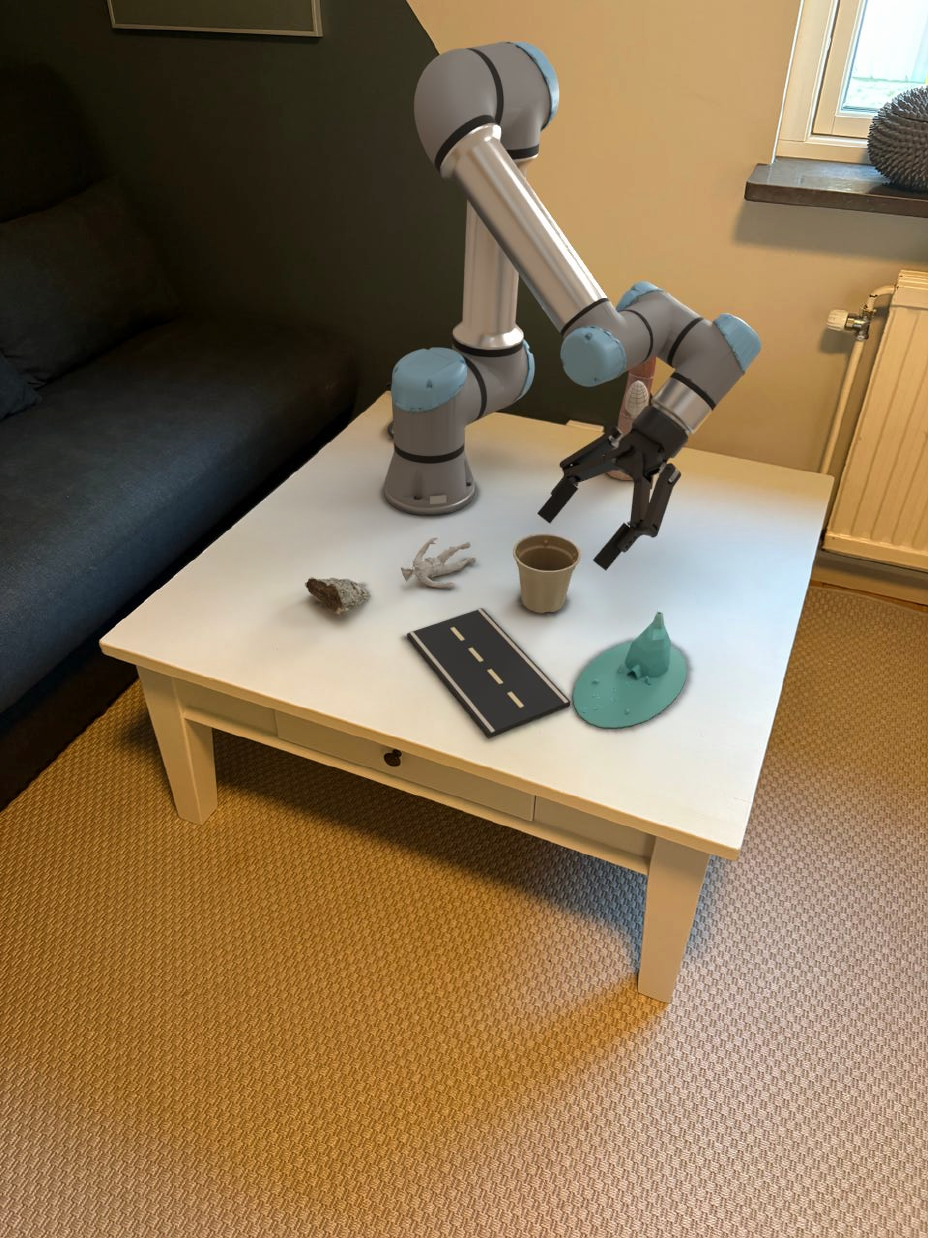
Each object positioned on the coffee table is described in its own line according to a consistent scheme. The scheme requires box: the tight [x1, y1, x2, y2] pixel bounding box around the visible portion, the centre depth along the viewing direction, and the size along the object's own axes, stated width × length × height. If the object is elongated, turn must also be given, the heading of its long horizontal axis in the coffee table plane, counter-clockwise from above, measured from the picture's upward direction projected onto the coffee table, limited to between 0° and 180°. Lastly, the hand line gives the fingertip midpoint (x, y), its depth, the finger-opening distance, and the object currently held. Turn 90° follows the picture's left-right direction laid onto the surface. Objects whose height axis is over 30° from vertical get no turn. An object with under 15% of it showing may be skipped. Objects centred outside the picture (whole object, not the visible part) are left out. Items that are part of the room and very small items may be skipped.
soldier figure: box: [400, 537, 477, 589], centre depth 141 cm, size 8×5×12 cm
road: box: [406, 607, 571, 739], centre depth 125 cm, size 22×12×1 cm, turn 30°
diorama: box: [572, 611, 688, 730], centre depth 121 cm, size 12×20×9 cm, turn 141°
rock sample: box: [304, 576, 371, 616], centre depth 135 cm, size 10×8×9 cm
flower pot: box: [512, 533, 582, 614], centre depth 135 cm, size 9×9×9 cm
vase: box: [606, 356, 657, 481], centre depth 160 cm, size 11×7×30 cm
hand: (570, 541), depth 133 cm, fingers open, 13 cm apart
